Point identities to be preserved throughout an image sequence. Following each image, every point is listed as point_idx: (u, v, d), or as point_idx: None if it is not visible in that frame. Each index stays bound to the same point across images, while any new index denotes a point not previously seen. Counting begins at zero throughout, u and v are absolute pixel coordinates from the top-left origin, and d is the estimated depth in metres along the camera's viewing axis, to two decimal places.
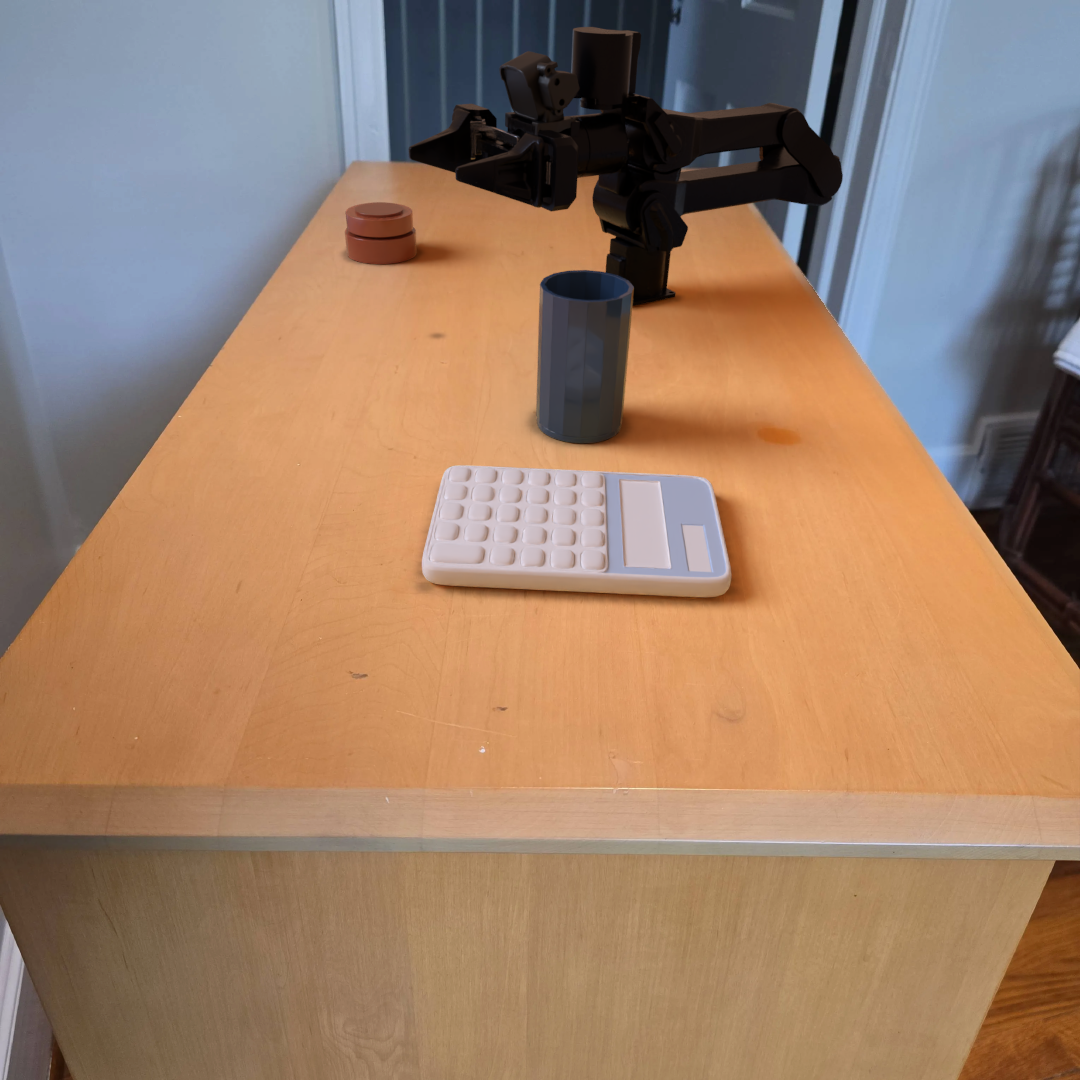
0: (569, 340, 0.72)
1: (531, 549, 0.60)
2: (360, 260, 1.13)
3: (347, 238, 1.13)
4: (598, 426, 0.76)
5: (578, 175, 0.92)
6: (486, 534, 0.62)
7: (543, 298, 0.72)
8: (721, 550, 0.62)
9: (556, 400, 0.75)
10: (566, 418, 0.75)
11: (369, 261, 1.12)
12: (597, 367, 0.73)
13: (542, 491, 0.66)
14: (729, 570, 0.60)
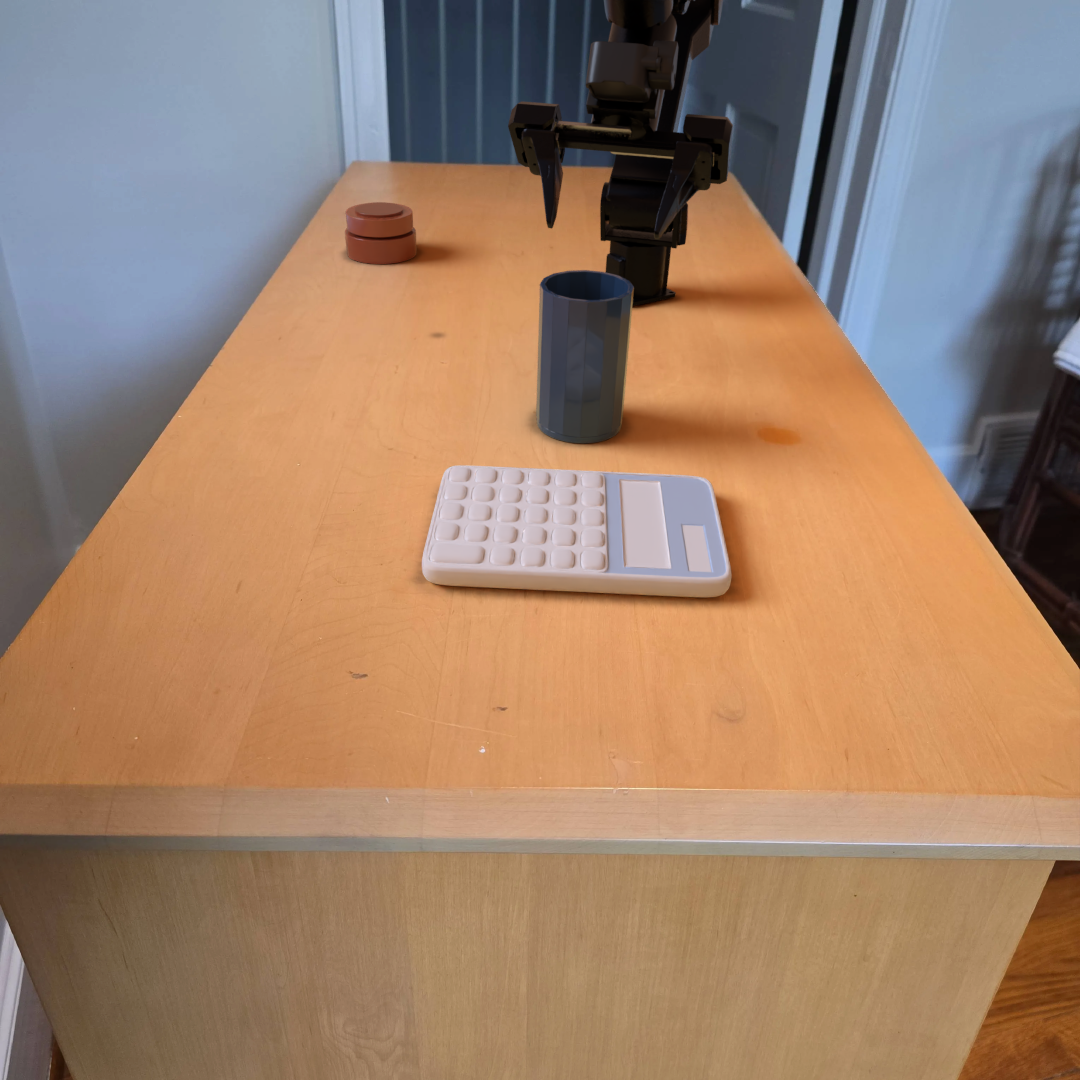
0: (569, 340, 0.72)
1: (531, 549, 0.60)
2: (360, 260, 1.13)
3: (347, 238, 1.13)
4: (598, 426, 0.76)
5: None
6: (486, 534, 0.62)
7: (543, 298, 0.72)
8: (721, 550, 0.62)
9: (556, 400, 0.75)
10: (566, 418, 0.75)
11: (369, 261, 1.12)
12: (597, 367, 0.73)
13: (542, 491, 0.66)
14: (729, 570, 0.60)
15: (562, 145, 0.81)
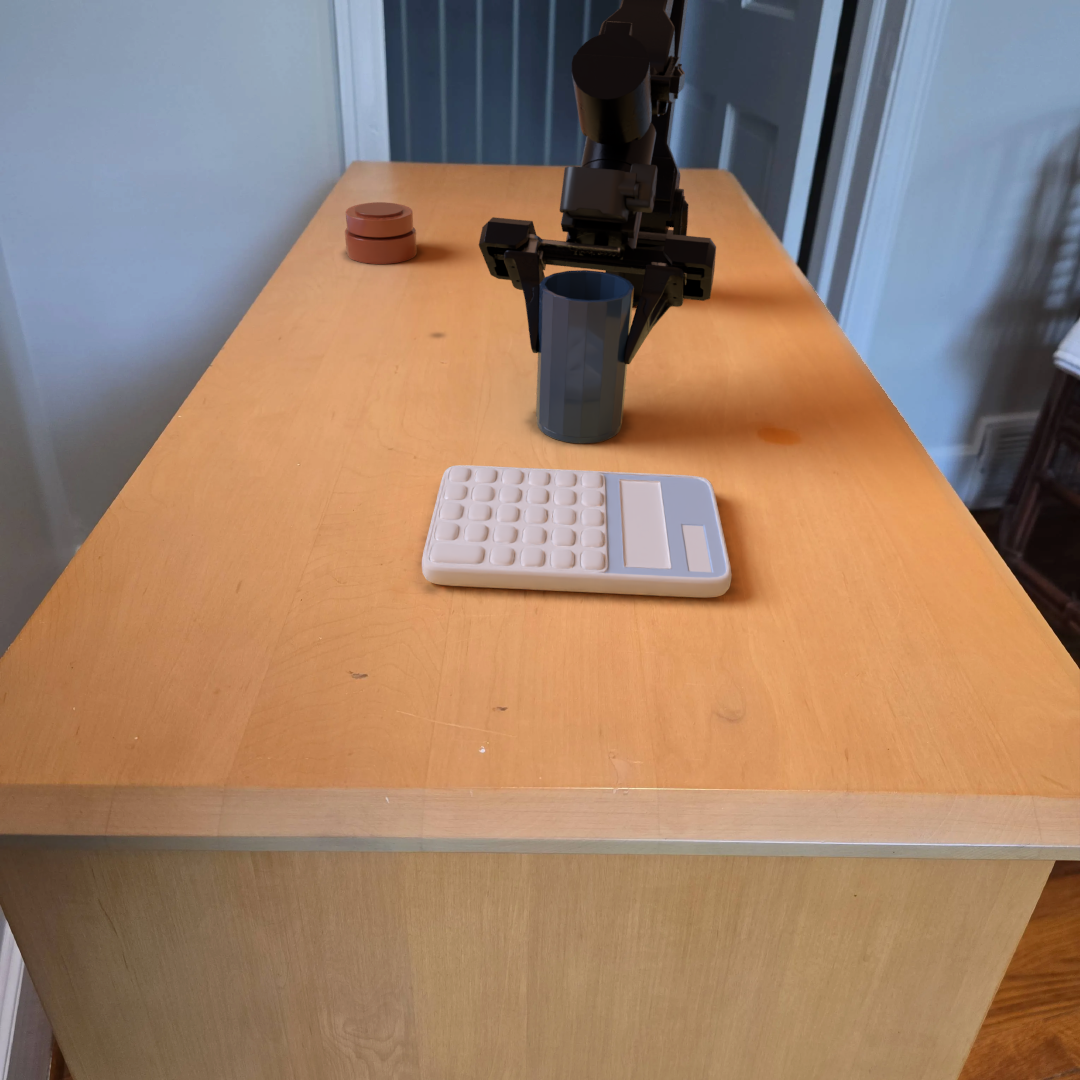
0: (569, 340, 0.71)
1: (531, 549, 0.60)
2: (360, 260, 1.13)
3: (347, 238, 1.13)
4: (598, 426, 0.76)
5: None
6: (486, 534, 0.62)
7: (543, 298, 0.72)
8: (721, 550, 0.61)
9: (556, 400, 0.75)
10: (566, 418, 0.75)
11: (369, 261, 1.12)
12: (597, 367, 0.73)
13: (542, 491, 0.66)
14: (729, 570, 0.60)
15: None
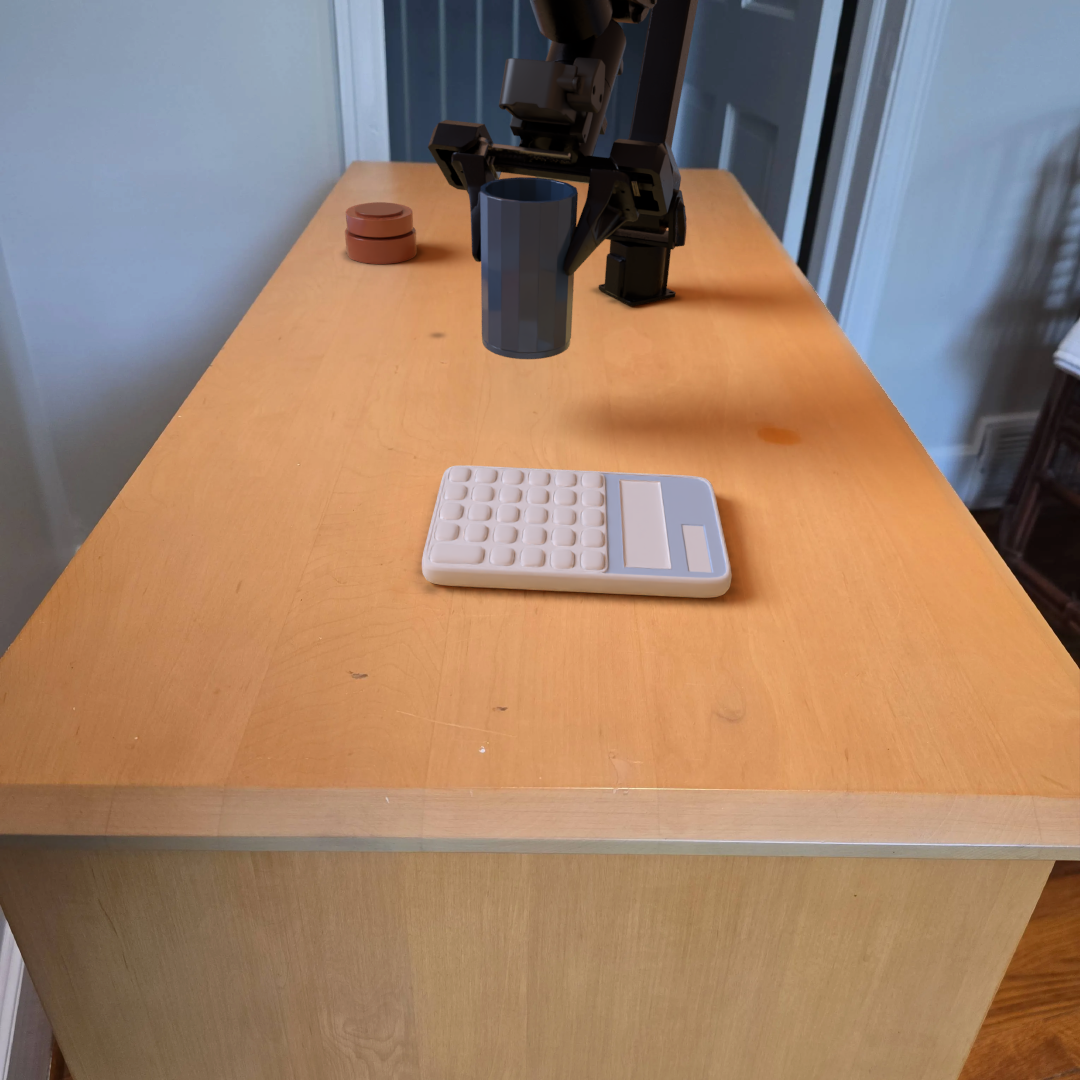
0: (503, 245, 0.69)
1: (531, 549, 0.60)
2: (360, 260, 1.13)
3: (347, 238, 1.13)
4: (537, 341, 0.72)
5: None
6: (486, 534, 0.62)
7: (480, 200, 0.69)
8: (721, 551, 0.61)
9: (494, 311, 0.72)
10: (504, 331, 0.72)
11: (369, 261, 1.12)
12: (533, 276, 0.69)
13: (542, 491, 0.66)
14: (729, 570, 0.60)
15: None
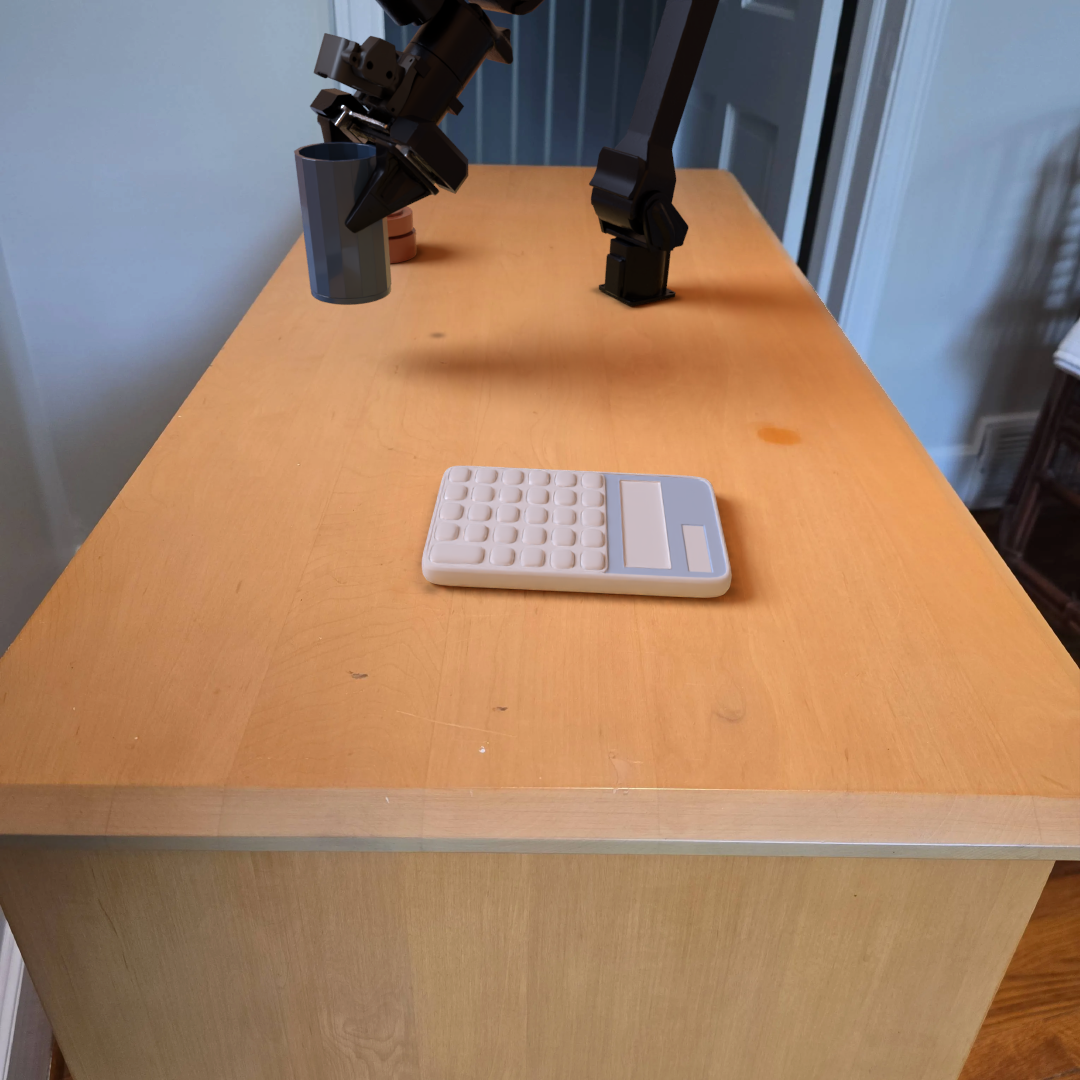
0: (300, 195, 0.78)
1: (531, 549, 0.60)
2: None
3: None
4: (330, 287, 0.81)
5: (459, 94, 0.80)
6: (486, 534, 0.62)
7: None
8: (721, 551, 0.61)
9: (306, 254, 0.82)
10: (309, 273, 0.82)
11: None
12: (319, 226, 0.78)
13: (542, 491, 0.66)
14: (729, 570, 0.60)
15: None
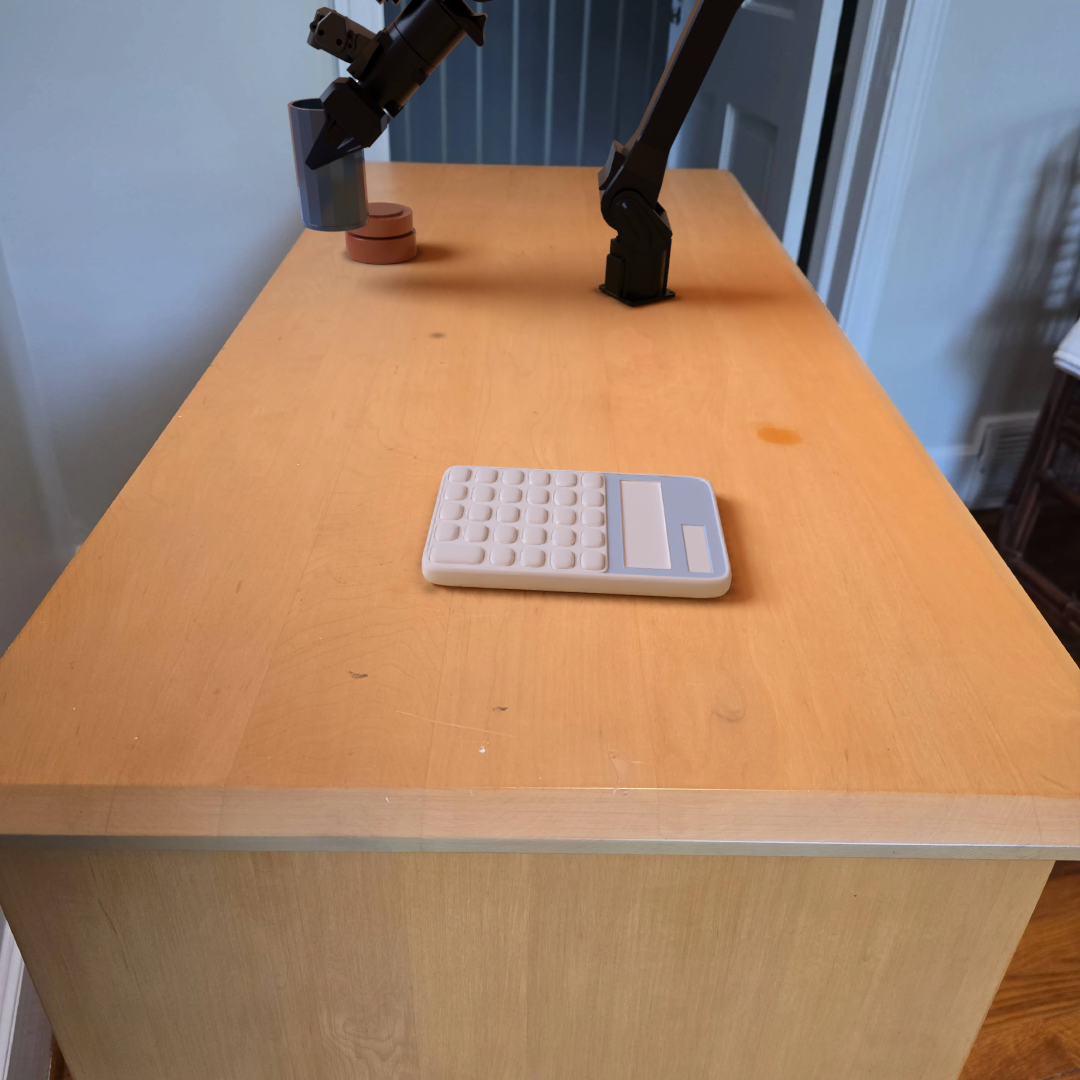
0: None
1: (531, 549, 0.60)
2: (360, 260, 1.13)
3: (347, 238, 1.13)
4: (303, 213, 1.00)
5: (426, 68, 0.92)
6: (486, 534, 0.62)
7: None
8: (721, 551, 0.61)
9: None
10: None
11: (369, 261, 1.12)
12: (295, 161, 0.97)
13: (543, 491, 0.66)
14: (729, 571, 0.60)
15: None
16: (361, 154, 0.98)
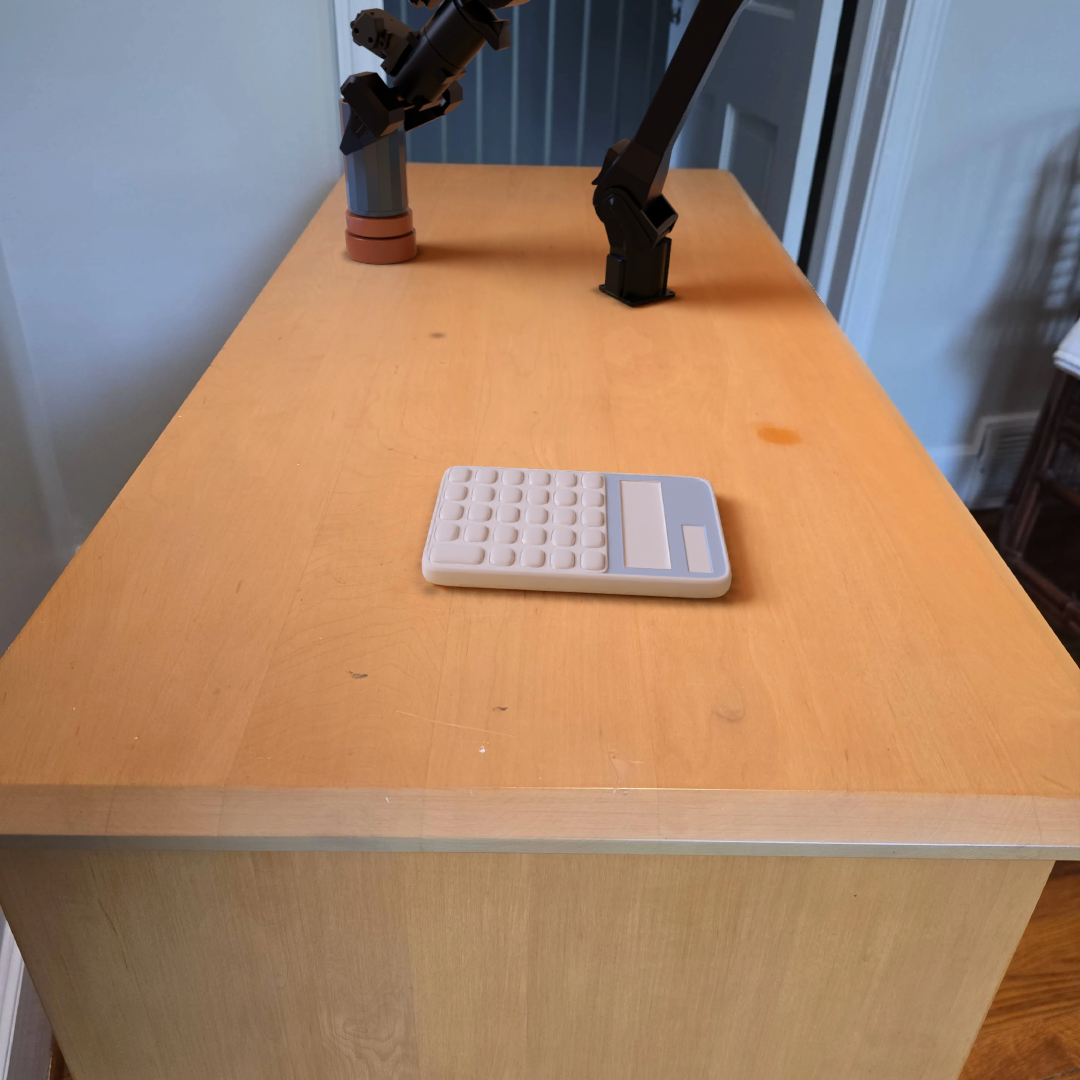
0: None
1: (531, 550, 0.60)
2: (360, 260, 1.13)
3: (347, 238, 1.13)
4: (347, 197, 1.11)
5: (449, 68, 0.99)
6: (486, 534, 0.62)
7: None
8: (721, 551, 0.61)
9: None
10: None
11: (369, 261, 1.12)
12: None
13: (543, 491, 0.66)
14: (729, 571, 0.59)
15: None
16: (398, 148, 1.07)
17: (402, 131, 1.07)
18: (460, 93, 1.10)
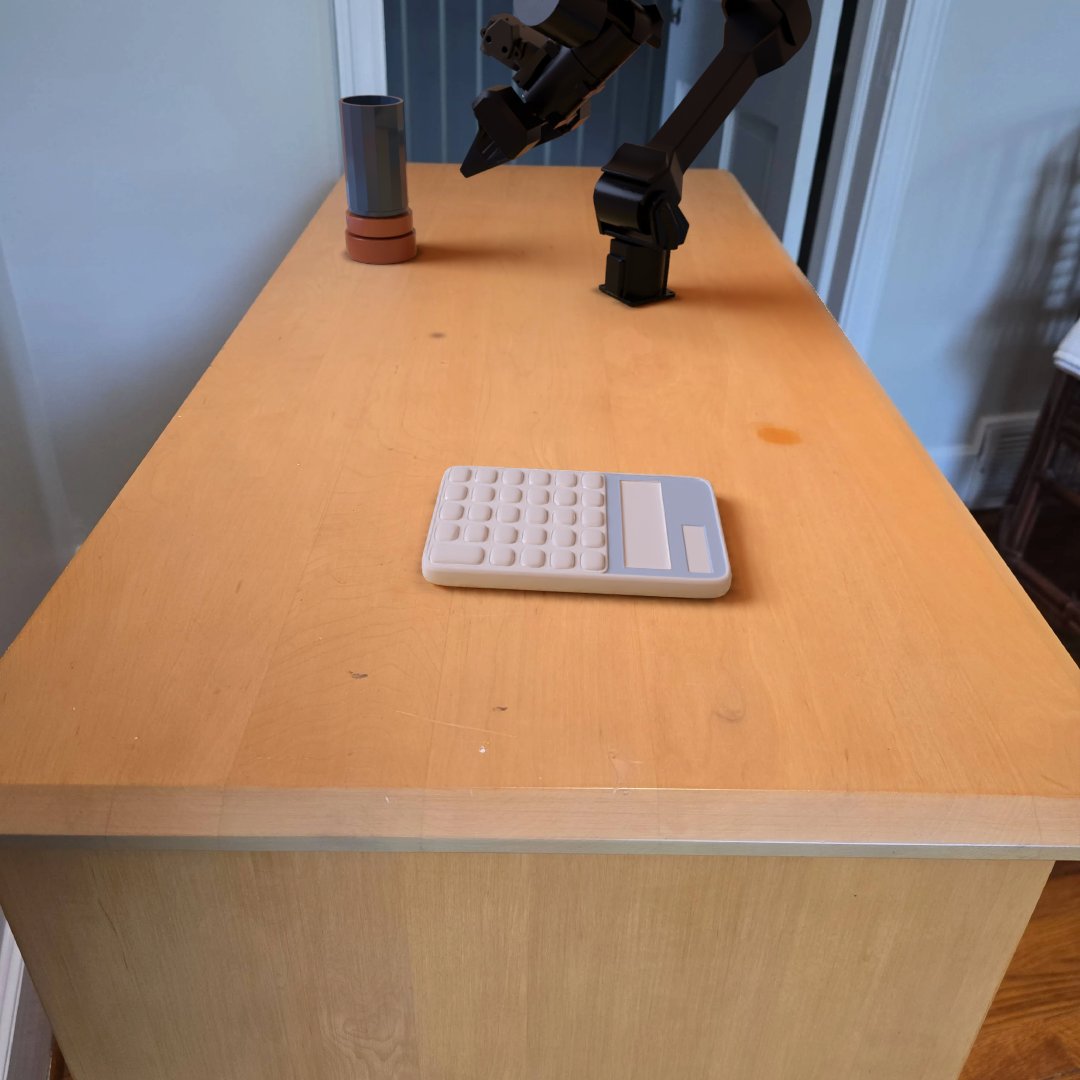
0: None
1: (531, 550, 0.60)
2: (360, 260, 1.13)
3: (347, 238, 1.13)
4: (347, 197, 1.11)
5: (592, 81, 0.88)
6: (486, 535, 0.62)
7: None
8: (721, 551, 0.61)
9: None
10: None
11: (369, 261, 1.12)
12: None
13: (543, 491, 0.66)
14: (729, 571, 0.59)
15: None
16: (398, 148, 1.07)
17: (402, 131, 1.07)
18: (588, 107, 0.99)
